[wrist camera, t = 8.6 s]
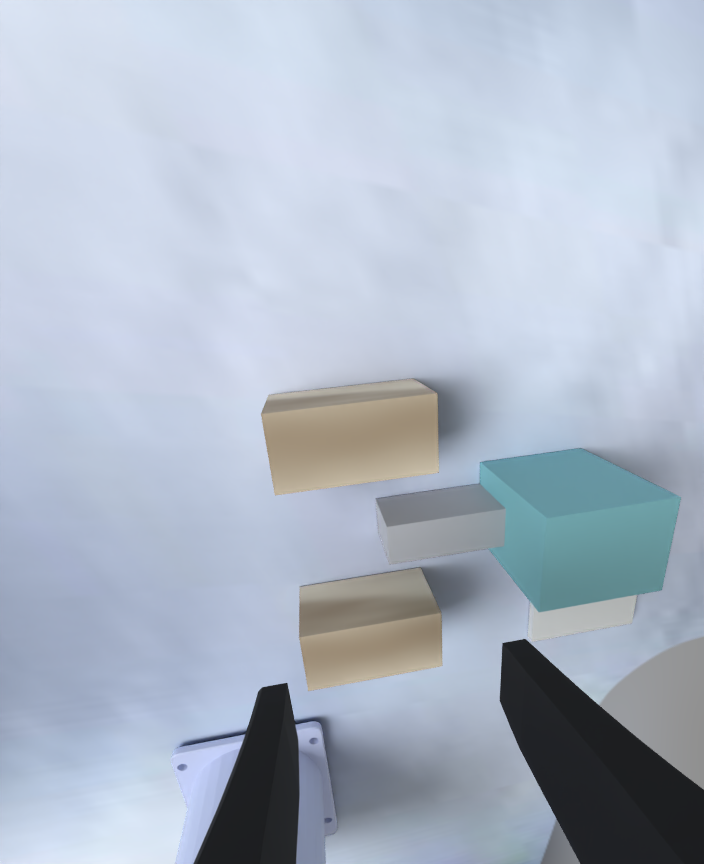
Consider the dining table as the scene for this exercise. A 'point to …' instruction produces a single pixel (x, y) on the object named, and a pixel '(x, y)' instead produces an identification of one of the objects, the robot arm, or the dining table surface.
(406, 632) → the channel
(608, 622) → the mat
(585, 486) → the plug
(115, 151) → the dining table surface
